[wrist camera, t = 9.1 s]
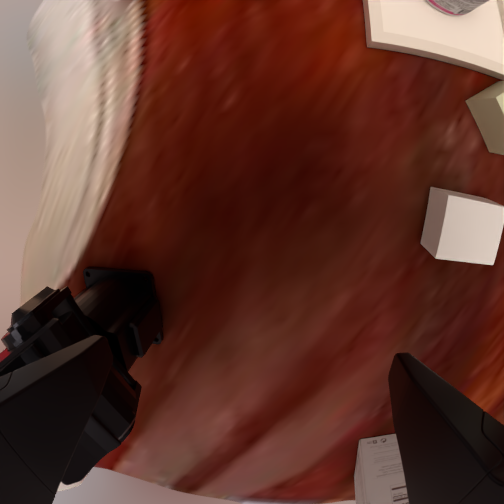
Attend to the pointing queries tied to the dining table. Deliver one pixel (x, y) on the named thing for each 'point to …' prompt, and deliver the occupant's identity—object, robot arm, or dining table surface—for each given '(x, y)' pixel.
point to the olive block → (490, 115)
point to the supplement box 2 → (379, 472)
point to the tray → (439, 33)
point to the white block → (462, 227)
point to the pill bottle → (456, 6)
